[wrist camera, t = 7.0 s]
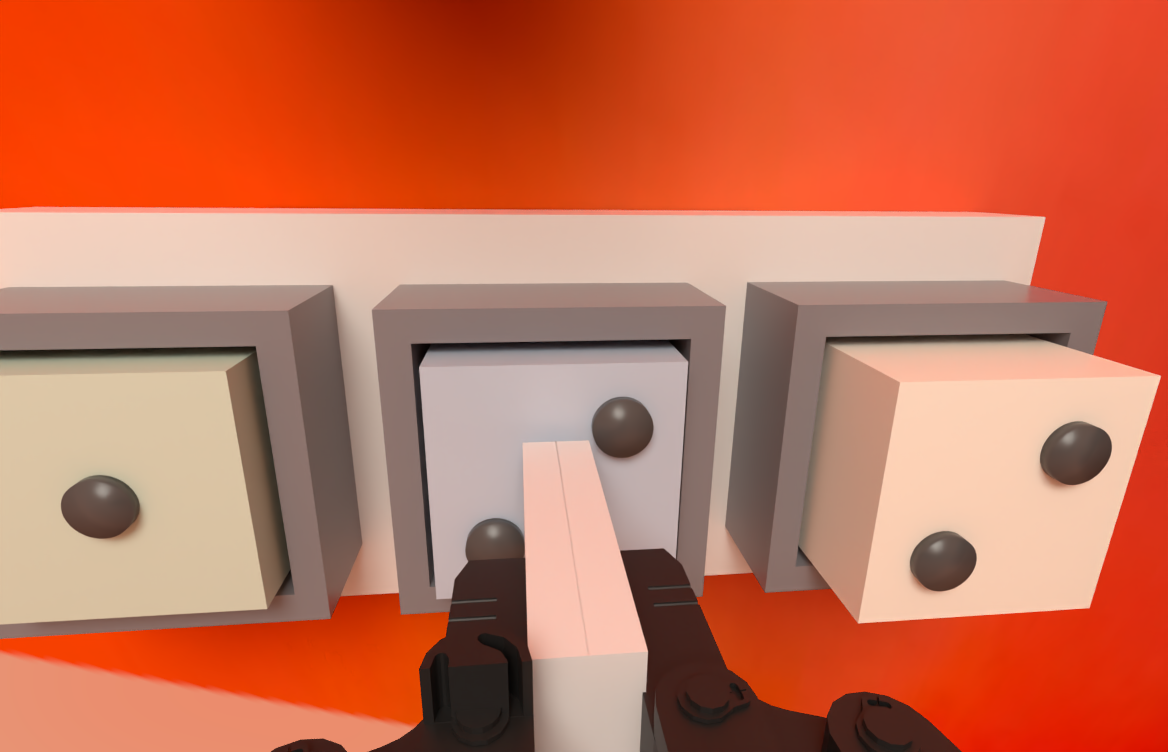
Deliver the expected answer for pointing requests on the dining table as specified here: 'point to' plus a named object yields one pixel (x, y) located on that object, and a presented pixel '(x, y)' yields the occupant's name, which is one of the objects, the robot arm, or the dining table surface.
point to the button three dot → (548, 438)
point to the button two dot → (967, 473)
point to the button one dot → (136, 484)
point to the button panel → (513, 314)
